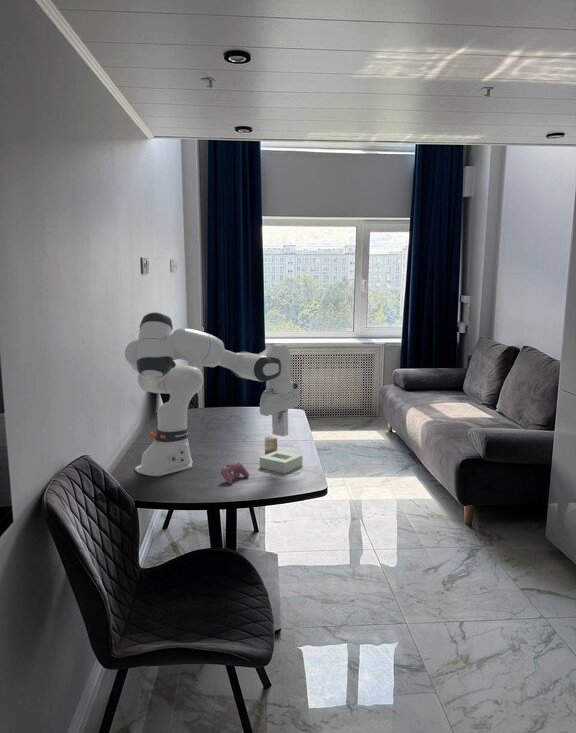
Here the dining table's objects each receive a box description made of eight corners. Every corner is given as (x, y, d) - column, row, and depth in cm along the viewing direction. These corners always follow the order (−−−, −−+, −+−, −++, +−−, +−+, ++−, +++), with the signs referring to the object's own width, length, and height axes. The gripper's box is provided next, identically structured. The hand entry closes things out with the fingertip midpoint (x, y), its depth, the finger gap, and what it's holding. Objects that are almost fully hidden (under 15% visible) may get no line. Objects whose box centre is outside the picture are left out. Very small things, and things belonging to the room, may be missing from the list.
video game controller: (242, 479, 216) (236, 461, 217) (250, 476, 213) (244, 458, 214) (223, 487, 208) (216, 468, 209) (231, 484, 205) (224, 465, 206)
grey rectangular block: (284, 436, 220) (283, 412, 219) (272, 434, 224) (271, 411, 222) (288, 434, 222) (287, 411, 221) (276, 432, 226) (276, 409, 224)
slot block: (285, 473, 217) (284, 462, 217) (259, 467, 224) (259, 457, 224) (302, 465, 226) (302, 455, 225) (277, 460, 233) (277, 450, 232)
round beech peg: (272, 460, 233) (271, 440, 231) (262, 458, 236) (262, 438, 234) (280, 457, 237) (279, 438, 235) (270, 455, 240) (269, 436, 238)
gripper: (268, 392, 210) (269, 429, 212) (301, 383, 226) (302, 418, 229) (254, 390, 214) (255, 427, 216) (288, 381, 230) (289, 416, 232)
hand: (279, 422), depth 222 cm, fingers closed on grey rectangular block, 2 cm apart
